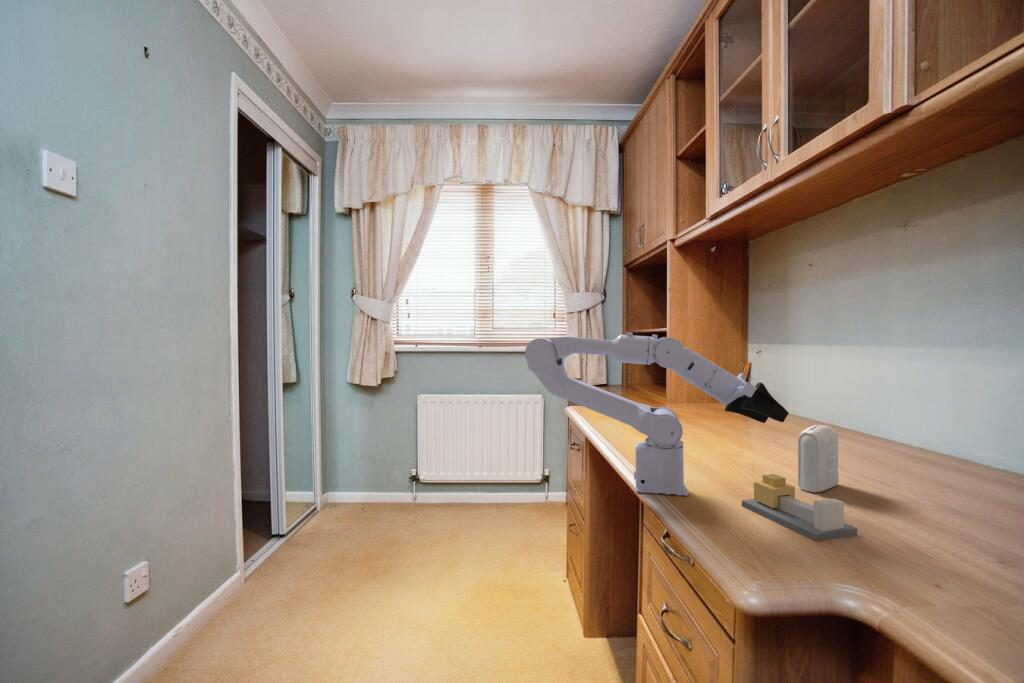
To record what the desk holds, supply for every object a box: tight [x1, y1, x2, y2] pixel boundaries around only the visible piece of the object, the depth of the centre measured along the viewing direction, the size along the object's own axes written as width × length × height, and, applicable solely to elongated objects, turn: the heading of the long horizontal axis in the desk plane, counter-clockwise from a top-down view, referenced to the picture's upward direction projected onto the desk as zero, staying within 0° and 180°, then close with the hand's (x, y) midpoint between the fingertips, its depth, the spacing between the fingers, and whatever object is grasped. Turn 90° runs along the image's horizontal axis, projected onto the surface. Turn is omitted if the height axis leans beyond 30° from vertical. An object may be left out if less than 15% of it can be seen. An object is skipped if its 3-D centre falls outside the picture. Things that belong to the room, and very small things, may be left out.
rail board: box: [741, 495, 858, 542], centre depth 71 cm, size 14×8×5 cm, turn 15°
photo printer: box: [797, 424, 839, 493], centre depth 86 cm, size 10×4×12 cm, turn 123°
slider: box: [753, 473, 796, 508], centre depth 75 cm, size 4×5×4 cm
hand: (775, 418), depth 80 cm, fingers open, 7 cm apart
